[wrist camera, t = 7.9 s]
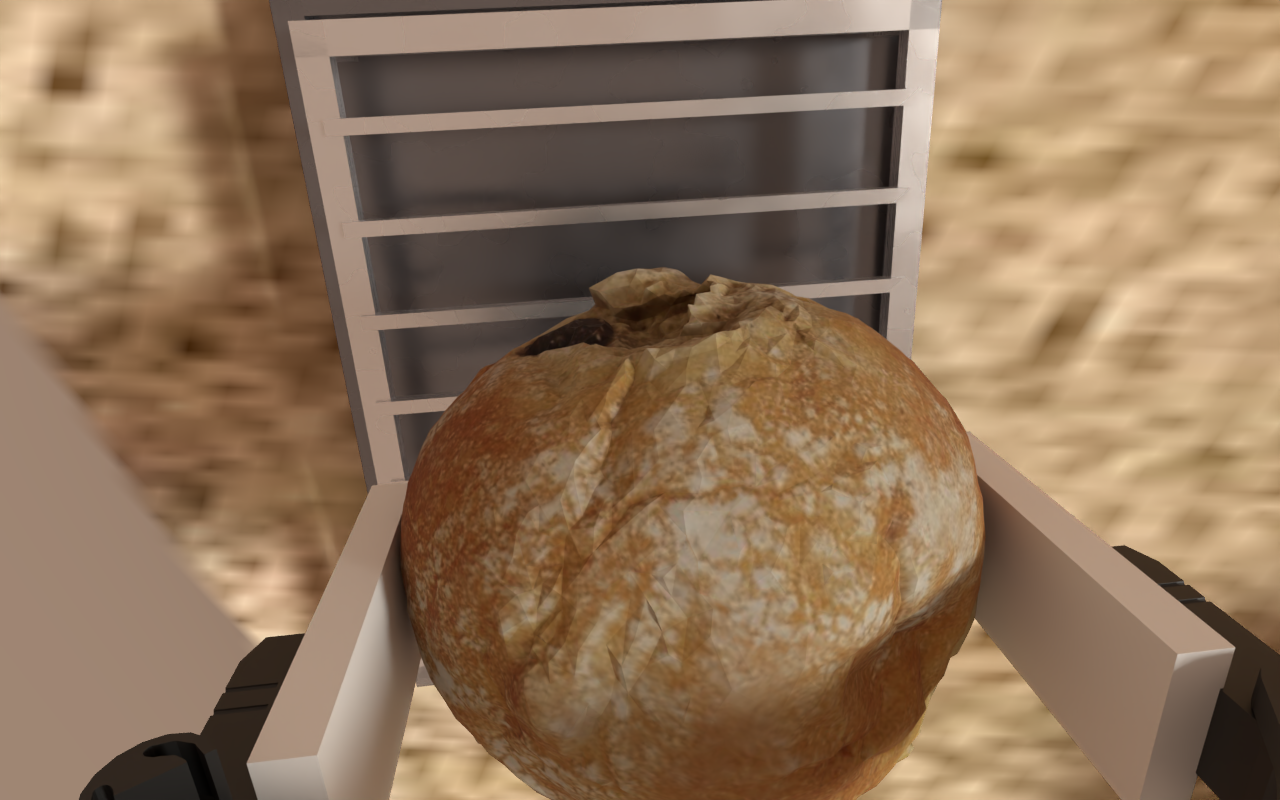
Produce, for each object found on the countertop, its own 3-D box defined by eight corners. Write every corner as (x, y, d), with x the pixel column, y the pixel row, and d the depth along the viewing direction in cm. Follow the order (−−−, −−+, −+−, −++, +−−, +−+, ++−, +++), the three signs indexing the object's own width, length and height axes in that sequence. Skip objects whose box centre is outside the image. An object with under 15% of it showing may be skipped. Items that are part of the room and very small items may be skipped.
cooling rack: (919, -35, 23) (988, -59, 19) (871, 593, 31) (913, 660, 27) (285, -10, 21) (230, -31, 18) (411, 642, 29) (391, 718, 26)
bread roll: (793, 221, 17) (852, 64, 10) (1023, 631, 17) (1291, 829, 9) (419, 430, 18) (187, 446, 10) (624, 826, 18) (543, 1166, 10)
